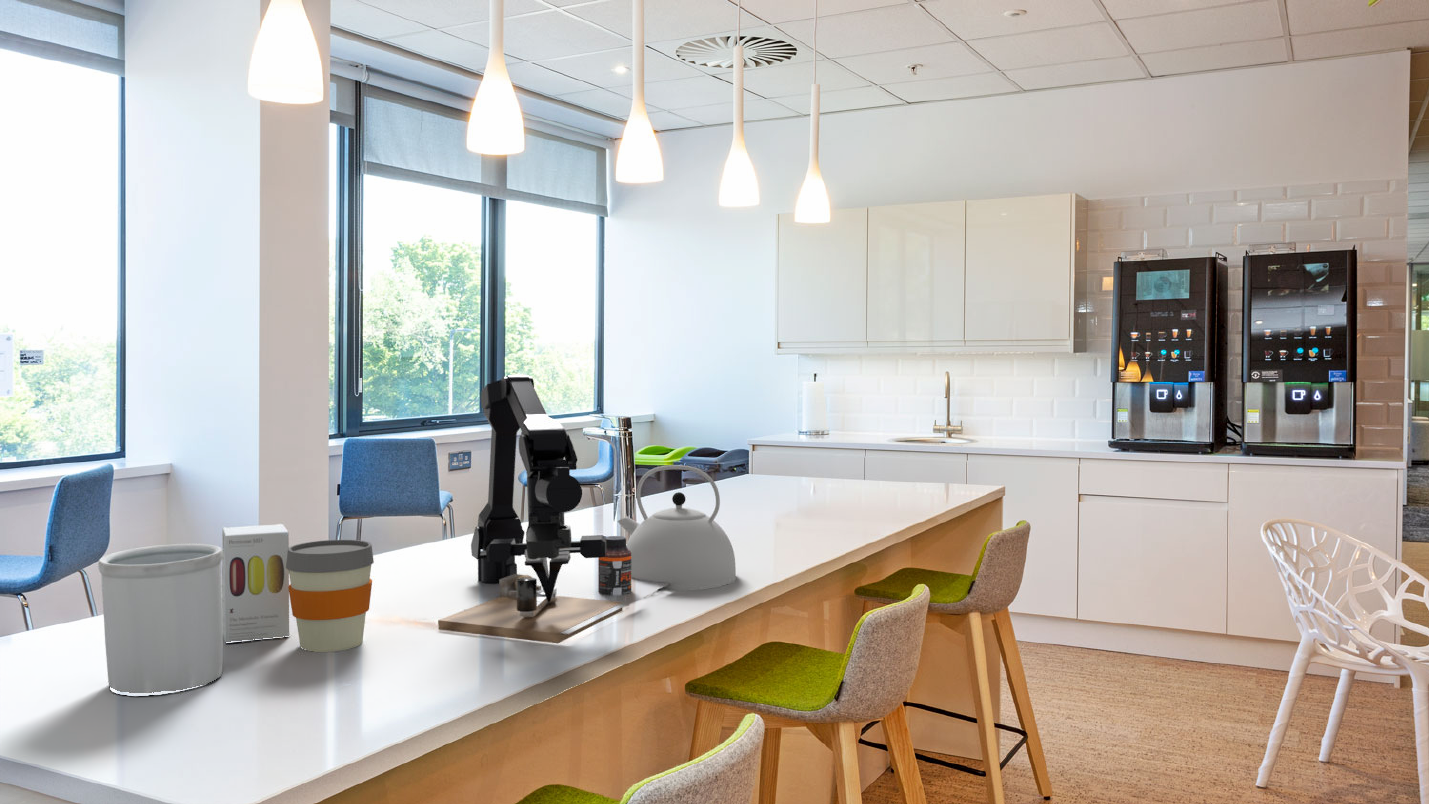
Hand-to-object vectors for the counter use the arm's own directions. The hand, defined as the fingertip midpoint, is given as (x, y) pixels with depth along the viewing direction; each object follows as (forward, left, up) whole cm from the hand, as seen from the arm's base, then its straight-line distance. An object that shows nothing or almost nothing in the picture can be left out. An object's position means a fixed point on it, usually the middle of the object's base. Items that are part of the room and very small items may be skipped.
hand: (549, 601), depth 169 cm
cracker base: (-5, +4, -4) cm, 8 cm away
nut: (-13, +14, -3) cm, 19 cm away
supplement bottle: (+1, +22, -5) cm, 23 cm away
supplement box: (-41, -20, -5) cm, 46 cm away
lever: (-5, +6, -3) cm, 8 cm away
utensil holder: (-34, -43, -5) cm, 55 cm away
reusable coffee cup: (-26, -20, -5) cm, 33 cm away
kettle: (+3, +44, -5) cm, 44 cm away
